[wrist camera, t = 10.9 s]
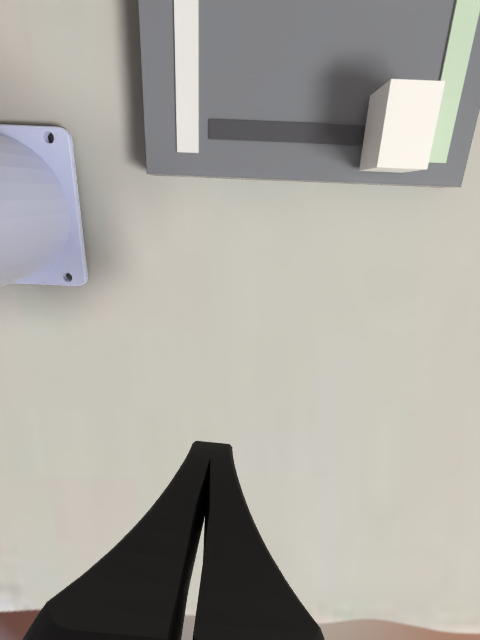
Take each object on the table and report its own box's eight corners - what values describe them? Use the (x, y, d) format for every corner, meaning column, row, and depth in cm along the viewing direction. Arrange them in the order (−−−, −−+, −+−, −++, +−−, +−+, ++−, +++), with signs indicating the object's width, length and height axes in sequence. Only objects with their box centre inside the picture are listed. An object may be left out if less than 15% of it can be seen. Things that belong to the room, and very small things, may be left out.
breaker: (359, 170, 16) (376, 167, 14) (370, 96, 15) (391, 78, 13) (402, 172, 16) (427, 169, 14) (416, 97, 15) (445, 80, 13)
